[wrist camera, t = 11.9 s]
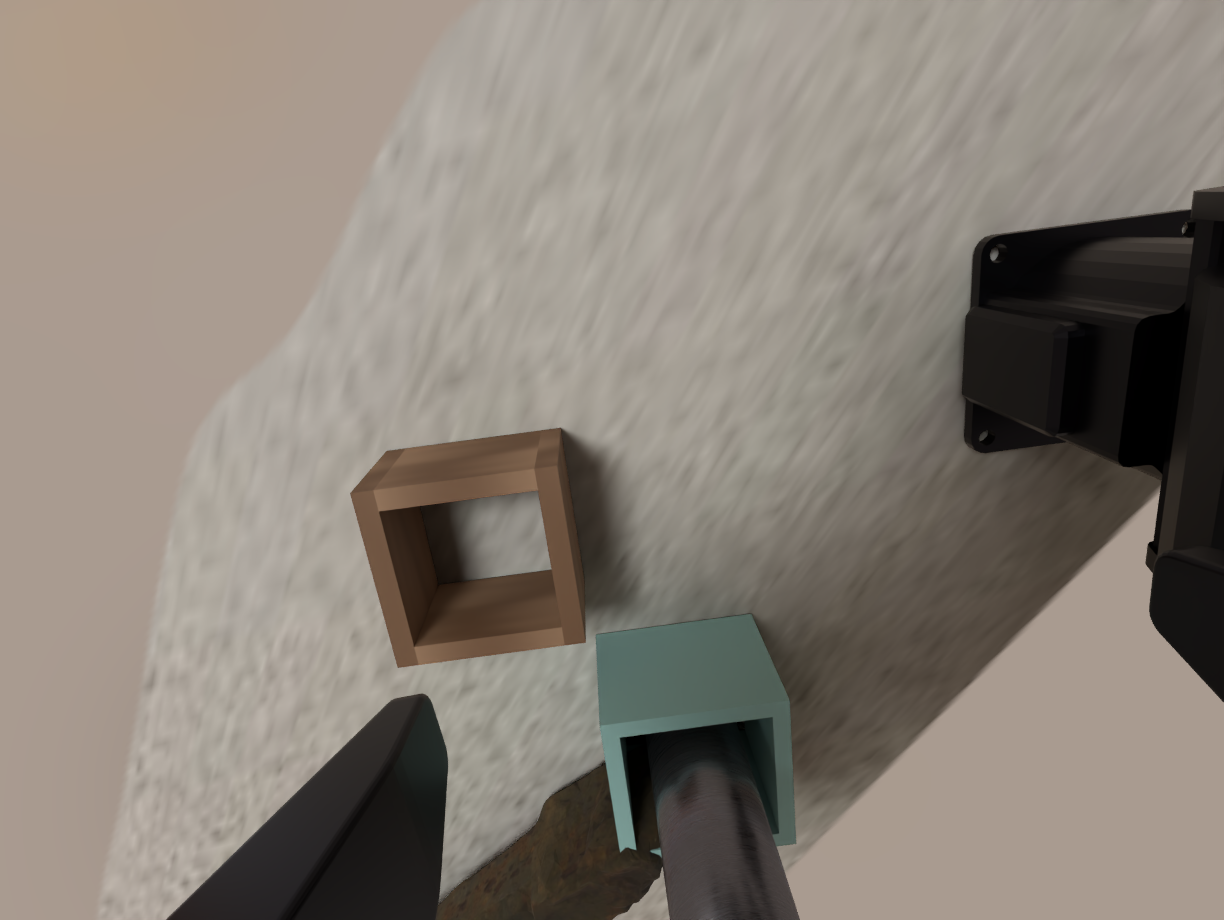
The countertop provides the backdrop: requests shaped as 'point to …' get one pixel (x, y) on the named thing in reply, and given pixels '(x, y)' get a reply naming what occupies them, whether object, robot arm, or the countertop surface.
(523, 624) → the socket block
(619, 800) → the hollow teal block
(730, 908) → the stepped grey cylinder
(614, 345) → the countertop surface
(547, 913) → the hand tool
